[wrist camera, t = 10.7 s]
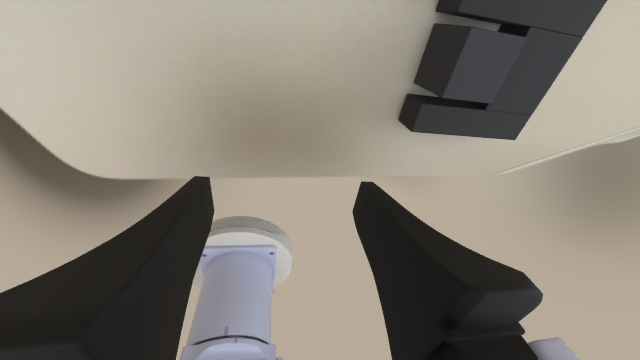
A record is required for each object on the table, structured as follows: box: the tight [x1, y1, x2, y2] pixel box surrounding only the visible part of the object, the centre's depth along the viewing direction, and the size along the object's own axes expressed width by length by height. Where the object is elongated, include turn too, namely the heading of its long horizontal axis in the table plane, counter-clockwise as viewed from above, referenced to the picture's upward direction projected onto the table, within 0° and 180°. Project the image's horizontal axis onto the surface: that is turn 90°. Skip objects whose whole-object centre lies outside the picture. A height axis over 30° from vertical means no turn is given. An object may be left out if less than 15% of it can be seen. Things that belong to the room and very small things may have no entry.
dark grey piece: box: [399, 0, 607, 140], centre depth 18 cm, size 10×10×2 cm
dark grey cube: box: [414, 23, 528, 104], centre depth 17 cm, size 4×4×4 cm
